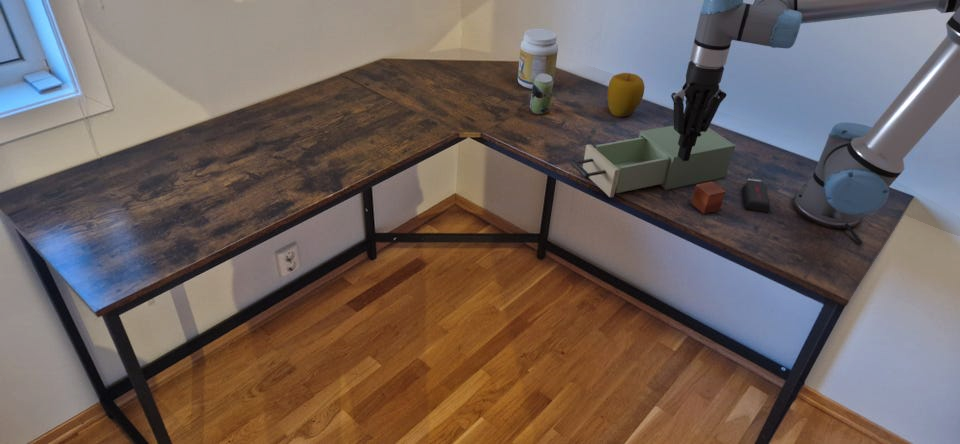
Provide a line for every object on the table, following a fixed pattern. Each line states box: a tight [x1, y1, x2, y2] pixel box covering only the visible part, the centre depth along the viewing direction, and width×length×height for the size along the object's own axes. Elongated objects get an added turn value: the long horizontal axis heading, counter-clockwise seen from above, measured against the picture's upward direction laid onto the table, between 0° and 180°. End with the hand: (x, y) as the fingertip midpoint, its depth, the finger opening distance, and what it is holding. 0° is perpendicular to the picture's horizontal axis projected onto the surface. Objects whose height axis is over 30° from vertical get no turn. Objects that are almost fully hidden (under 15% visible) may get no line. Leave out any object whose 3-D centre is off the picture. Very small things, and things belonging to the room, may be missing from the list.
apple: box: [606, 72, 645, 118], centre depth 198 cm, size 11×11×13 cm
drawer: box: [570, 137, 671, 198], centre depth 166 cm, size 25×13×8 cm, turn 114°
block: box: [690, 180, 727, 215], centre depth 160 cm, size 5×5×6 cm
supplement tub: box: [517, 28, 559, 90], centre depth 213 cm, size 12×12×17 cm
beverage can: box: [529, 73, 554, 115], centre depth 197 cm, size 6×7×12 cm
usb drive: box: [742, 178, 771, 213], centre depth 165 cm, size 5×12×3 cm, turn 167°
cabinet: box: [638, 124, 736, 191], centre depth 173 cm, size 20×15×10 cm
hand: (683, 158), depth 155 cm, fingers closed
